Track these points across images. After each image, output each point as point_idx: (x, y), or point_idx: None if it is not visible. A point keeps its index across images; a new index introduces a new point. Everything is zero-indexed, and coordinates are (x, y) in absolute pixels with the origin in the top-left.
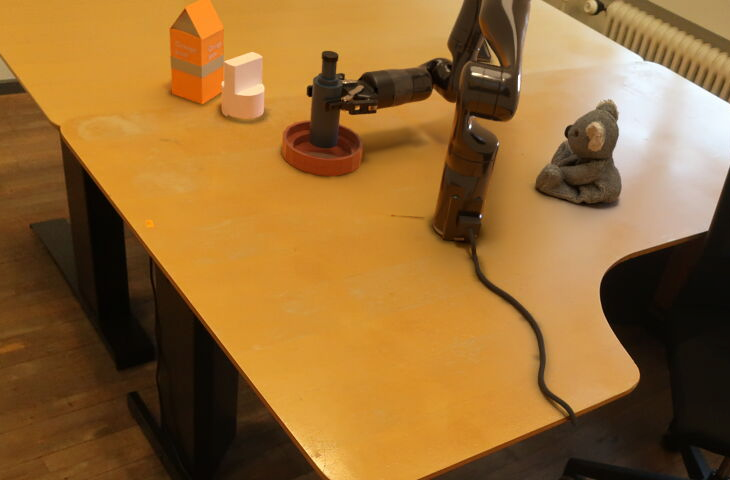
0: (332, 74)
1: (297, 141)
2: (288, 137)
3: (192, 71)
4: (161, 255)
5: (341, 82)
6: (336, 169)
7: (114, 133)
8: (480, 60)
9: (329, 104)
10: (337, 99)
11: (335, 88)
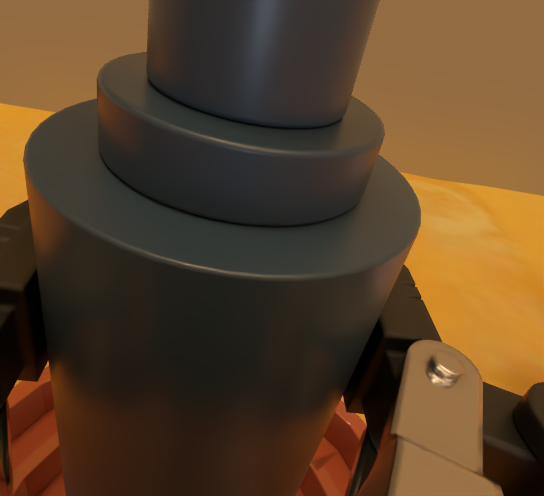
0: None
1: (312, 491)
2: (324, 437)
3: None
4: (51, 112)
5: (125, 228)
6: None
7: (426, 205)
8: None
9: (26, 201)
10: (12, 250)
11: (40, 127)
